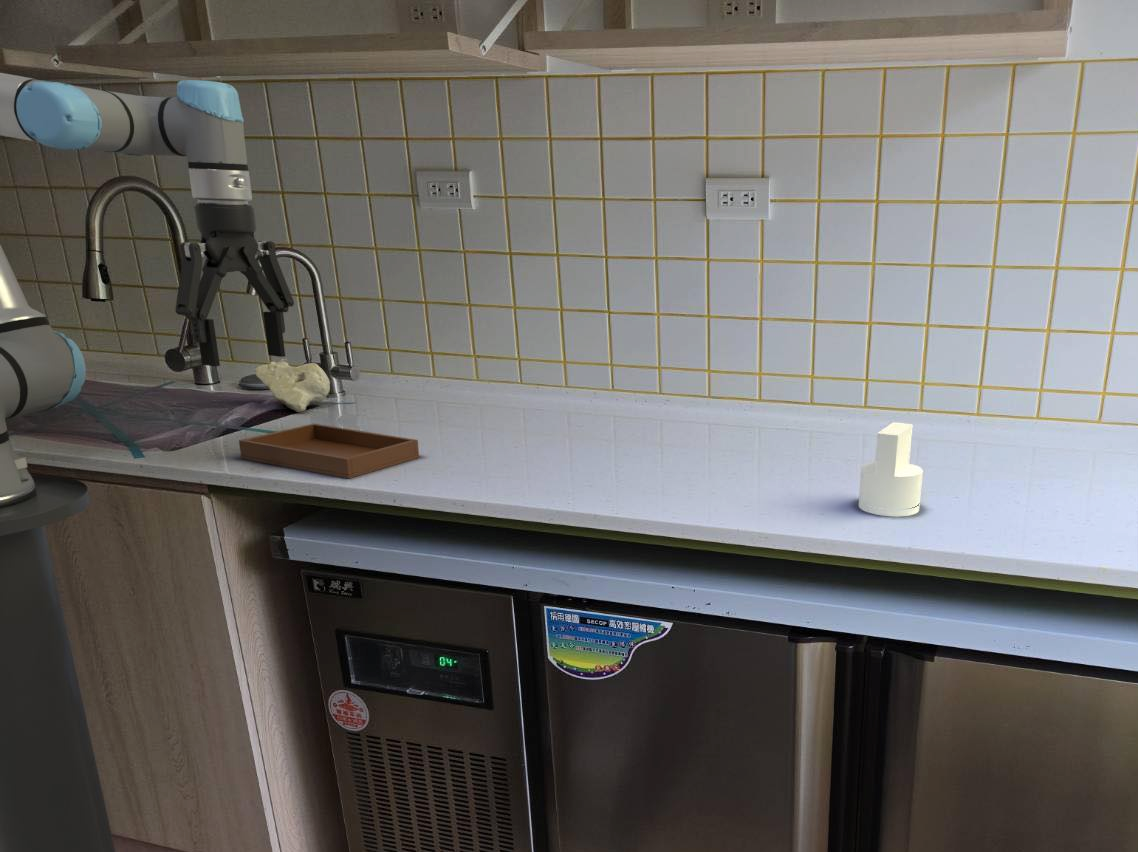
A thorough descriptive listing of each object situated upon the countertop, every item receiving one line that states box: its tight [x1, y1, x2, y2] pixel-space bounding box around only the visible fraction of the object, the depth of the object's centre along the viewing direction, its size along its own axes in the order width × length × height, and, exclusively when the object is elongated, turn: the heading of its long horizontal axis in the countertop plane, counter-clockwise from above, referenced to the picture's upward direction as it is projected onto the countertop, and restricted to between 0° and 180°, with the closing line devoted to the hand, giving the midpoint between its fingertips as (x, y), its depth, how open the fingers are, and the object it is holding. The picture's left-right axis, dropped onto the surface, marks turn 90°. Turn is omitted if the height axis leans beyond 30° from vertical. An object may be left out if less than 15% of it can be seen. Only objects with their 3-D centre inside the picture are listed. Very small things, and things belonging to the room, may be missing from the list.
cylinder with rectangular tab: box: [858, 421, 924, 518], centre depth 144 cm, size 9×9×12 cm
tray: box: [238, 423, 420, 479], centre depth 162 cm, size 16×24×3 cm, turn 65°
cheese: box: [254, 358, 331, 413], centre depth 200 cm, size 15×7×15 cm
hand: (245, 360), depth 145 cm, fingers open, 11 cm apart
